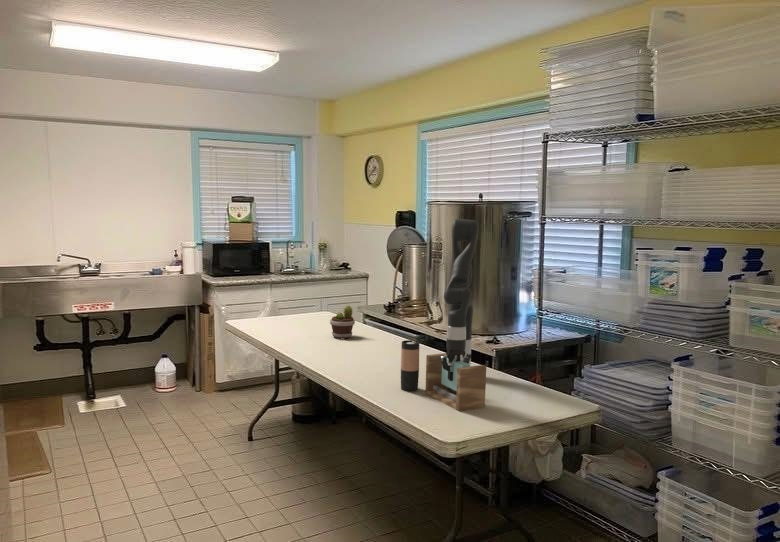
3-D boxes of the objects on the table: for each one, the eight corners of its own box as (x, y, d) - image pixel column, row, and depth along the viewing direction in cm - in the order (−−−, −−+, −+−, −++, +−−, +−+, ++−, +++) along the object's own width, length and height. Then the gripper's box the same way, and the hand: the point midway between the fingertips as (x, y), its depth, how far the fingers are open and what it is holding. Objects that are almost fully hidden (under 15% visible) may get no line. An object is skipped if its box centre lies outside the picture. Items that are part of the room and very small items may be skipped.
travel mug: (403, 392, 242) (404, 344, 240) (397, 386, 250) (399, 340, 248) (420, 391, 245) (422, 343, 243) (415, 385, 252) (416, 339, 250)
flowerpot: (328, 339, 339) (328, 305, 337) (331, 334, 354) (332, 301, 352) (353, 340, 338) (353, 306, 336) (355, 335, 354) (356, 302, 352)
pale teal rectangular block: (441, 383, 239) (442, 357, 238) (448, 382, 240) (449, 356, 239) (461, 393, 226) (462, 365, 225) (468, 392, 228) (469, 364, 227)
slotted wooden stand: (425, 393, 241) (426, 355, 240) (449, 389, 247) (451, 352, 246) (459, 411, 220) (460, 369, 219) (484, 406, 226) (486, 366, 225)
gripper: (465, 334, 238) (464, 375, 240) (436, 336, 231) (434, 379, 233) (476, 337, 231) (475, 380, 233) (446, 340, 225) (445, 384, 226)
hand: (454, 379), depth 233 cm, fingers closed on pale teal rectangular block, 3 cm apart
